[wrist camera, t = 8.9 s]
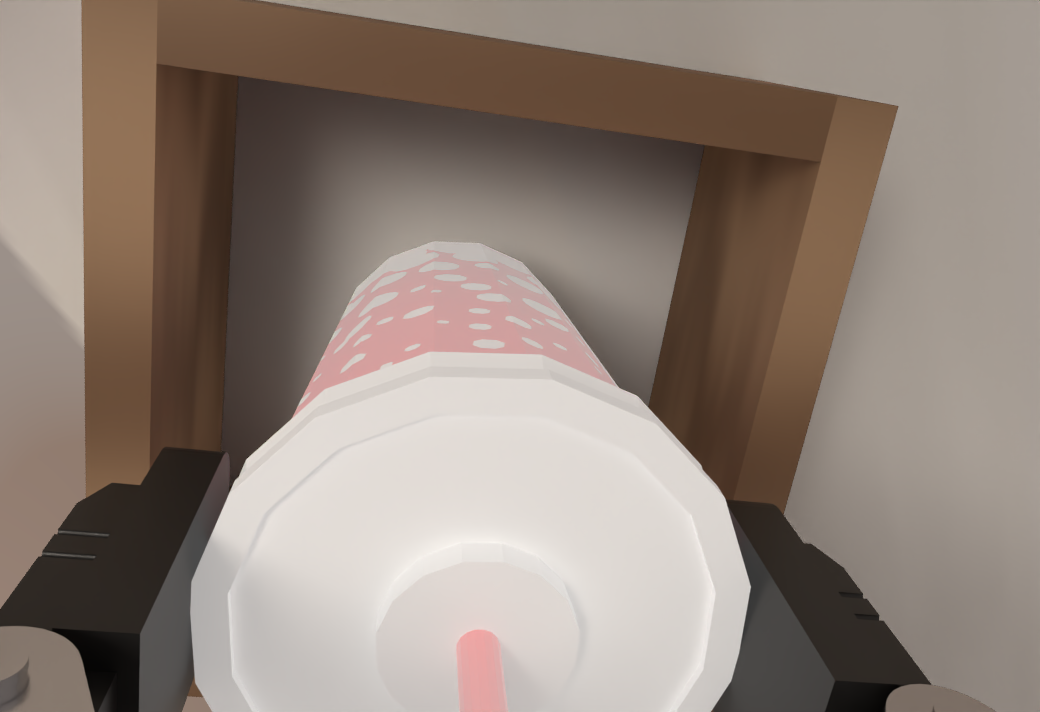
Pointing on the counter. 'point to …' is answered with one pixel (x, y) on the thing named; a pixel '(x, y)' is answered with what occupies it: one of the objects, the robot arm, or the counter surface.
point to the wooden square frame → (479, 87)
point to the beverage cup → (467, 522)
